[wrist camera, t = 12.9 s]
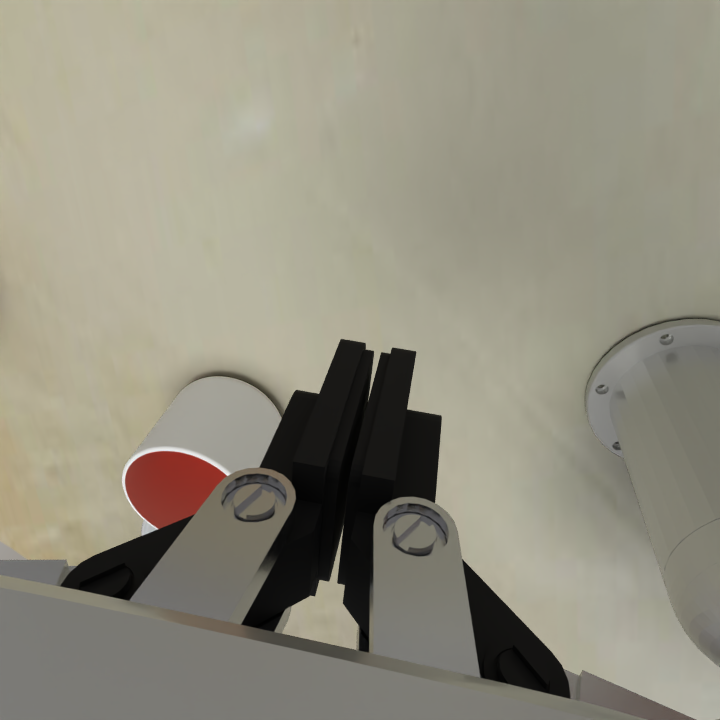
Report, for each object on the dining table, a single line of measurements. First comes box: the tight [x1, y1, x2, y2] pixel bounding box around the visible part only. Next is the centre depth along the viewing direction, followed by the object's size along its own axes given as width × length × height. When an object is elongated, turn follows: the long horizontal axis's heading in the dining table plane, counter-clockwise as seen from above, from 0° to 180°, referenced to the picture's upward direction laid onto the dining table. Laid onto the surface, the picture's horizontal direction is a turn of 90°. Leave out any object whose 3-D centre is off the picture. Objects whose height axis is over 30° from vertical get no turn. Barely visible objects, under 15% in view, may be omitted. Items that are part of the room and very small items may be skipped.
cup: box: [122, 376, 282, 529], centre depth 46 cm, size 10×10×10 cm
